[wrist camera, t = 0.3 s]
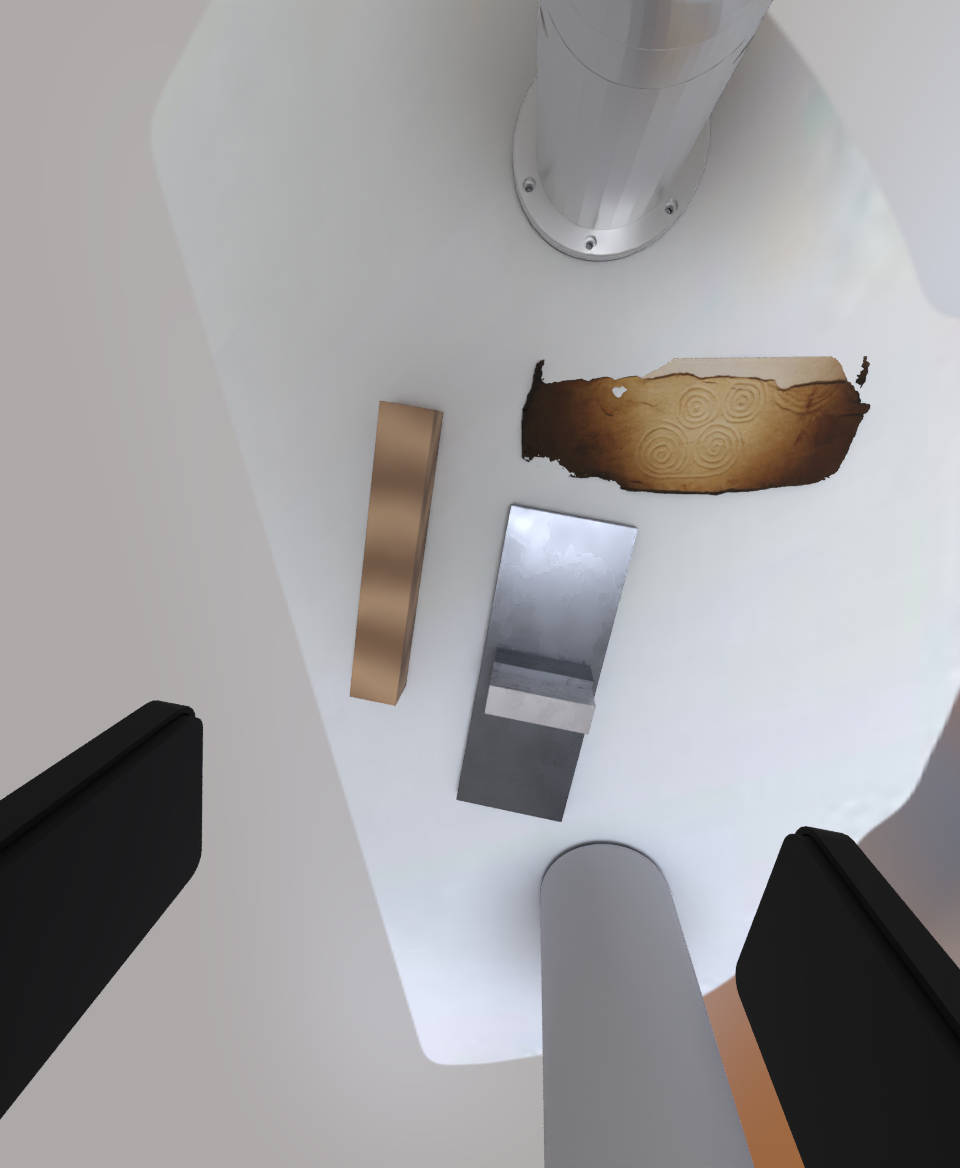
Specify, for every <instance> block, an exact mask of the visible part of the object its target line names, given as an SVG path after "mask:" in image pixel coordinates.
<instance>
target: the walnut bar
mask: <svg viewBox="0 0 960 1168" xmlns="http://www.w3.org/2000/svg"><path fill="white" fill-rule="evenodd" d="M442 418H443V412H439V411H436V410H431V409H426V408H420V407H414V406H408V405H402V404H396V403H391V402H385V401H380V405H379V415H378V425H377V435H376V444H375V454H374V464H373V474H372V483H371V493H370V503H369V513H368V522H367V532H366V542H365V551H364V561H363V571H362V581H361V590H360V600H359V610H358V620H357V629H356V639H355V649H354V659H353V668H352V678H351V688H350V697H355V698H360V699H365V700H370V701H375V702H380V703H385V704H390V705H395V706H396V704H397V702H398V700H399V698H400V696H401V694H402V692H403V690H404V688H405V686H406V681H407V674H408V666H409V659H410V652H411V644H412V637H413V630H414V622H415V615H416V608H417V601H418V593H419V586H420V579H421V571H422V564H423V557H424V550H425V542H426V535H427V528H428V520H429V513H430V506H431V498H432V491H433V484H434V477H435V469H436V462H437V455H438V447H439V440H440V433H441V426H442Z"/></svg>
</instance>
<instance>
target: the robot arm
mask: <svg viewBox="0 0 960 1168" xmlns="http://www.w3.org/2000/svg"><path fill="white" fill-rule="evenodd" d="M772 1H773V0H538V39H537V76H536V78H535V80H534V81H533V83H532V85H531V86H530V88H529V89H528V91H527V94H526V96H525V99H524V101H523V104H522V106H521V108H520V111H519V115H518V119H517V123H516V127H515V132H514V142H513V172H514V178H515V184H516V189H517V193H518V196H519V199H520V202H521V205H522V207H523V210H524V212H525V213H526V215H527V217H528V219H529V220H530V222H531V224H532V226H533V227H534V228H535V229H536V230H537V231H538V233H539V234H540V235H541V236H542V237H543V238H544V239H545V240H546V241H547V242H549V243H550V244H551V245H553V246H554V247H555V248H557V249H558V250H560V251H562V252H564V253H566V254H568V255H571V256H573V257H576V258H581V259H586V260H590V261H608V260H613V259H617V258H622V257H626V256H628V255H631V254H633V253H635V252H638V251H640V250H642V249H644V248H645V247H647V246H648V245H650V244H651V243H653V242H654V241H656V240H657V239H659V238H660V237H661V236H662V235H663V234H664V233H665V232H666V231H667V230H668V229H669V228H670V227H671V226H672V225H673V224H674V223H675V221H676V220H677V219H678V217H679V216H680V215H681V213H682V212H683V211H684V209H685V208H686V206H687V205H688V203H689V201H690V199H691V198H692V196H693V195H694V193H695V191H696V188H697V186H698V184H699V181H700V179H701V177H702V174H703V172H704V167H705V163H706V159H707V155H708V151H709V142H710V130H711V126H710V114H711V112H712V110H713V109H714V107H715V105H716V103H717V101H718V99H719V98H720V96H721V94H722V92H723V90H724V89H725V87H726V85H727V83H728V81H729V79H730V78H731V76H732V74H733V72H734V70H735V68H736V67H737V65H738V63H739V61H740V59H741V58H742V56H743V54H744V52H745V50H746V48H747V47H748V45H749V43H750V41H751V39H752V38H753V36H754V34H755V32H756V30H757V28H758V26H759V25H760V23H761V21H762V19H763V17H764V15H765V13H766V12H767V10H768V8H769V6H770V4H771V3H772ZM528 187H531V188H532V189H533V191H532V192H526V191H525V190H526V188H528ZM666 208H670V209H671V211H672V213H671V214H668V213H666V211H665V209H666ZM588 243H590V244H592V246H593V248H592V249H591V250H588V249H586V244H588ZM202 762H203V724H202V721H201V720H200V719H199V718H196V717H195V713H194V711H193V709H192V708H190V707H189V706H184V705H179V704H174V703H168V702H163V701H158V700H157V701H151V702H149V703H147V704H145V705H144V706H142V707H140V708H139V709H137V710H136V711H134V712H133V713H131V714H130V715H128V716H127V717H126V718H124V719H122V720H121V721H120V722H118V723H116V724H115V725H113V726H112V727H110V728H109V729H107V730H106V731H104V732H103V733H101V734H100V735H98V736H97V737H95V738H94V739H92V740H91V741H89V742H88V743H86V744H85V745H84V746H82V747H80V748H79V749H77V750H76V751H74V752H73V753H71V754H70V755H68V756H67V757H65V758H64V759H62V760H61V761H59V762H57V763H56V764H54V765H53V766H51V767H50V768H48V769H47V770H45V771H44V772H43V773H41V774H39V775H38V776H36V777H35V778H34V779H32V780H30V781H29V782H27V783H26V784H24V785H23V786H21V787H20V788H18V789H17V790H15V791H14V792H12V793H11V794H9V795H8V796H6V797H5V798H3V799H2V800H0V1119H1V1118H2V1117H3V1115H4V1114H5V1113H6V1111H7V1110H8V1109H9V1108H10V1106H11V1105H12V1104H13V1102H14V1101H15V1100H16V1099H17V1097H18V1096H19V1095H20V1094H21V1092H22V1091H23V1090H24V1089H25V1087H26V1086H27V1085H28V1084H29V1082H30V1081H31V1080H32V1079H33V1077H34V1076H35V1074H36V1073H37V1072H38V1071H39V1070H40V1068H41V1067H42V1066H43V1065H44V1063H45V1062H46V1061H47V1060H48V1058H49V1057H50V1056H51V1054H52V1053H53V1052H54V1051H55V1050H56V1048H57V1047H58V1046H59V1044H60V1043H61V1042H62V1041H63V1039H64V1038H65V1037H66V1036H67V1034H68V1033H69V1032H70V1031H71V1029H72V1028H73V1027H74V1025H75V1024H76V1023H77V1022H78V1020H79V1019H80V1018H81V1016H82V1015H83V1014H84V1013H85V1011H86V1010H87V1009H88V1008H89V1006H90V1005H91V1004H92V1003H93V1001H94V1000H95V999H96V997H97V996H98V995H99V994H100V993H101V991H102V990H103V989H104V988H105V986H106V985H107V984H108V982H109V981H110V980H111V978H112V977H113V976H114V975H115V974H116V972H117V971H118V969H120V967H121V966H122V965H123V964H124V962H125V961H126V960H127V958H128V957H129V956H130V955H131V953H132V952H133V951H134V950H135V948H136V947H137V946H138V945H139V943H140V942H141V941H142V940H143V938H144V937H145V936H146V934H147V933H148V932H149V931H150V929H151V928H152V927H153V926H154V924H155V923H156V922H157V921H158V919H159V918H160V917H161V915H162V914H163V913H164V912H165V910H166V909H167V908H168V907H169V905H170V904H171V903H172V902H173V900H174V899H175V898H176V897H177V895H178V894H179V893H180V891H181V890H182V889H183V888H184V886H185V885H186V884H187V883H188V881H189V880H190V879H191V877H192V876H193V874H194V873H195V871H196V869H197V867H198V864H199V861H200V858H201V851H202ZM735 975H736V985H737V990H738V993H739V996H740V999H741V1002H742V1004H743V1007H744V1009H745V1012H746V1015H747V1017H748V1020H749V1022H750V1025H751V1028H752V1030H753V1033H754V1036H755V1038H756V1041H757V1043H758V1046H759V1049H760V1051H761V1054H762V1056H763V1059H764V1062H765V1064H766V1067H767V1070H768V1072H769V1075H770V1077H771V1080H772V1083H773V1085H774V1088H775V1091H776V1093H777V1096H778V1098H779V1101H780V1104H781V1106H782V1109H783V1111H784V1114H785V1117H786V1119H787V1122H788V1125H789V1127H790V1130H791V1132H792V1135H793V1138H794V1140H795V1143H796V1145H797V1148H798V1151H799V1153H800V1156H801V1159H802V1161H803V1164H804V1166H805V1168H960V969H959V968H958V967H957V965H956V964H955V963H954V962H953V961H952V959H951V958H950V957H949V956H948V954H947V953H946V952H945V951H944V950H943V948H942V947H941V946H940V945H939V944H938V943H937V941H936V940H935V939H934V937H933V936H932V935H931V934H930V933H929V931H928V930H927V929H926V928H925V927H924V925H923V924H922V923H921V922H920V920H919V919H918V918H917V917H916V916H915V914H914V913H913V912H912V911H911V910H910V908H909V907H908V906H907V905H906V904H905V902H904V901H903V900H902V899H901V898H900V896H899V895H898V894H897V893H896V892H895V890H894V889H893V888H892V887H891V886H890V884H889V883H888V882H887V881H886V879H885V878H884V877H883V876H882V874H881V873H880V872H879V871H878V870H877V868H876V867H875V866H874V865H873V864H872V863H871V861H870V860H869V859H868V858H867V856H866V855H865V854H864V853H863V851H862V850H861V849H860V848H859V847H858V845H857V844H856V843H855V842H854V841H853V840H852V839H851V838H850V837H849V836H848V835H845V834H843V833H839V832H833V831H828V830H823V829H818V828H813V827H808V826H805V827H801V828H799V829H798V830H797V831H796V833H795V834H789V835H788V836H786V838H785V839H784V841H783V844H782V846H781V849H780V852H779V854H778V857H777V859H776V862H775V865H774V867H773V870H772V873H771V875H770V878H769V880H768V883H767V886H766V888H765V891H764V894H763V896H762V899H761V901H760V904H759V907H758V909H757V912H756V915H755V917H754V920H753V922H752V925H751V928H750V930H749V933H748V936H747V938H746V941H745V943H744V946H743V949H742V951H741V954H740V956H739V959H738V962H737V965H736V974H735Z"/></svg>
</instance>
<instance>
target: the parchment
mask: <svg viewBox="0 0 960 1168" xmlns="http://www.w3.org/2000/svg"><path fill="white" fill-rule="evenodd" d="M866 359H867V356H864V360H863V364H862V366H861V367H863V368H864V370H862V371H861V372H860V373H861V374H860V375H857V376H858V377H859V378H858V379H856V383H858V384H859V385H861V387H862V385H863V384H864V383H865V381H866V375H867V373H868V367H869V365H870V363H869V362H867V361H866ZM543 365H544V360H542V361H540V362H539V363H537V366H536V369H535V374H534V375H533V384H532V389H531V391H530V392H529V394H528V395H527V401H526V404H525V406H524V408H523V420H522V458H523V459H524V457H530V458H529V460H532V459H533V457H534V456H535V457H543V458H544V457H545V456H546V457H547V458H549V460H550V462H551V461H554V460H557V461H558V459H560V461H558V462H559V465H562V466H563V467H565V468H566V469H567V470H568V471H569V472H570V473H571V472H573V473H575V474H576V476H575V475H574V476H573V475H571V477H576V478H588V477H600V478H602V479H604V480H608V481H609V482H610V480H612V481H616V482H617V483H618V484H619V485H620V486H621V487H620V488H621V489H623V490H627V491H634V492H637V491H639V492H641V491H647V492H653V493H664V494H668V493H669V494H710V495H719V494H723V493H726V492H750V491H758V490H764V489H769V488H777V487H785V486H798V485H799V486H801V485H805V484H806V485H808V484H812V483H816V482H819V481H821V480H825V478H824V477H827V478H830V477H829V476H830V475H832V474H834V473H836V472H837V471H838V469H839V468H840V465H841V463H842V461H843V460H844V459H845V456H846V454H847V452H848V450H849V447H850V444H851V443H852V440H853V438H854V437H855V435H856V431H857V428H858V426H859V423H860V422H861V421H862V419H863V417H864V416H863V414H865V413H867V412H868V410H869V409H870V404H865V403H860V402H861V399H860V398H859V396H860V395H859V393H858V391H855V388H854V386H853V385H851V382H848V381H847V378H846V376H845V373H844V372H843V369H842V365H841V364H840V363H839V362H838V360H836V358H833V357H830V356H829V357H781V358H780V357H778V358H767V357H766V358H760V357H759V358H720V359H719V358H700V359H699V358H695V359H693V358H682V359H679V358H674V359H672V361H671V362H668V363H667V364H666V365H664V366H662V367H661V368H659V369H657V370H655V371H653V372H651V373H649V374H647V375H646V376H644V377H638V376H629V377H624V378H620V379H617V380H614V379H613V378H610V377H601V378H597V379H592V380H590V381H586V380H583V379H577V380H567V381H561V382H553V383H552V384H551V383H548V384H545V383H544V382H543V381H542V379H541V376H542V370H541V369H542V366H543ZM543 380H544V378H543ZM621 386H623V387H624V388H626V389H627V391H626V392H624V393H623V394H622V396H621V397H619V398H617V397H616V396H615V395H614V394H613V392H612V389H613V388H614V387H621ZM861 387H860V388H861ZM538 454H539V456H538ZM525 460H526V459H525ZM529 460H526V461H528V462H530V461H529ZM538 467H539V466H538ZM563 469H564V468H563Z"/></svg>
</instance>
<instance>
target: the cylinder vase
mask: <svg viewBox="0 0 960 1168" xmlns="http://www.w3.org/2000/svg"><path fill="white" fill-rule="evenodd" d="M540 916H541V977H542V1038H543V1094H544V1095H543V1099H544V1160H545V1168H754V1165H753V1162H752V1158H751V1155H750V1152H749V1149H748V1145H747V1142H746V1139H745V1135H744V1133H743V1129H742V1125H741V1122H740V1119H739V1116H738V1113H737V1109H736V1106H735V1103H734V1099H733V1097H732V1093H731V1089H730V1086H729V1083H728V1080H727V1076H726V1073H725V1070H724V1066H723V1063H722V1060H721V1057H720V1053H719V1050H718V1047H717V1043H716V1040H715V1037H714V1034H713V1031H712V1027H711V1024H710V1021H709V1017H708V1014H707V1010H706V1007H705V1004H704V1001H703V997H702V994H701V991H700V987H699V984H698V981H697V978H696V974H695V971H694V968H693V964H692V961H691V958H690V955H689V951H688V948H687V945H686V941H685V938H684V935H683V932H682V928H681V925H680V922H679V918H678V915H677V912H676V909H675V905H674V902H673V899H672V895H671V892H670V889H669V886H668V883H667V881H666V879H665V877H664V876H663V874H662V873H661V871H660V870H659V869H658V868H657V866H656V865H655V864H654V863H653V862H651V861H650V860H649V859H648V858H646V857H645V856H643V855H642V854H640V853H638V852H636V851H634V850H631V849H629V848H626V847H622V846H618V845H612V844H592V845H586V846H582V847H579V848H576V849H573V850H571V851H569V852H567V853H566V854H564V855H562V856H561V857H560V858H558V859H557V860H556V861H555V862H554V863H553V864H552V865H551V867H550V868H549V869H548V871H547V872H546V874H545V876H544V879H543V881H542V885H541V891H540Z"/></svg>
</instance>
